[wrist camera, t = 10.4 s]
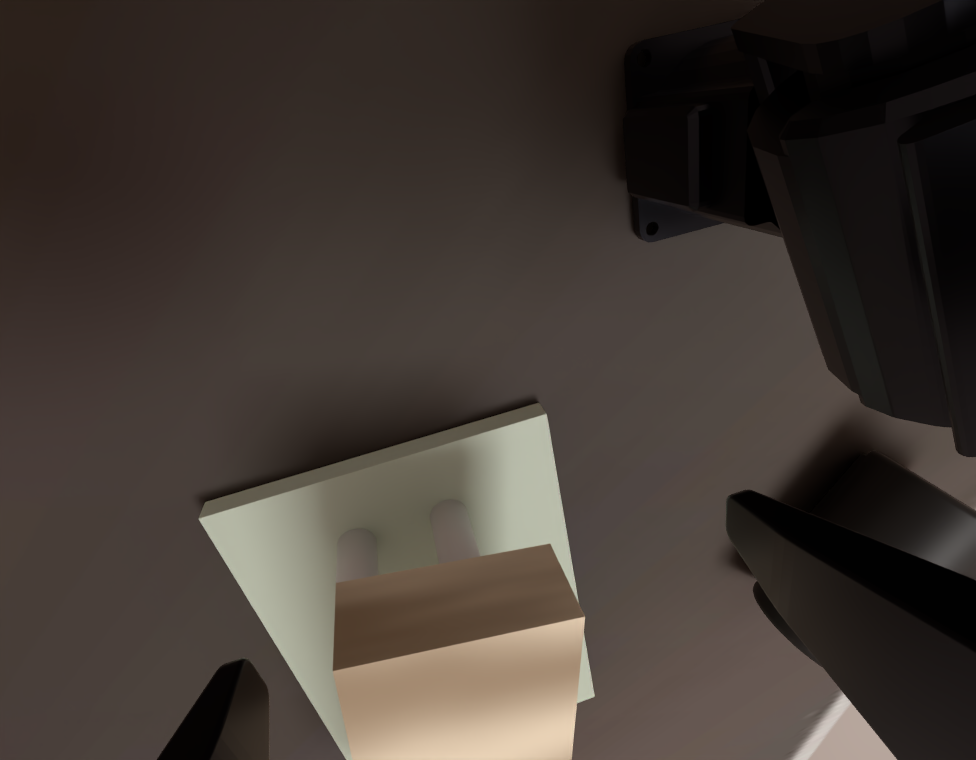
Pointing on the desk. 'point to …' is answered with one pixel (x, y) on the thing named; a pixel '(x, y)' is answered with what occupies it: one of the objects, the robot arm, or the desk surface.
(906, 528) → the end cap
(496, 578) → the shelf board
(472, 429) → the peg plate
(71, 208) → the desk surface
